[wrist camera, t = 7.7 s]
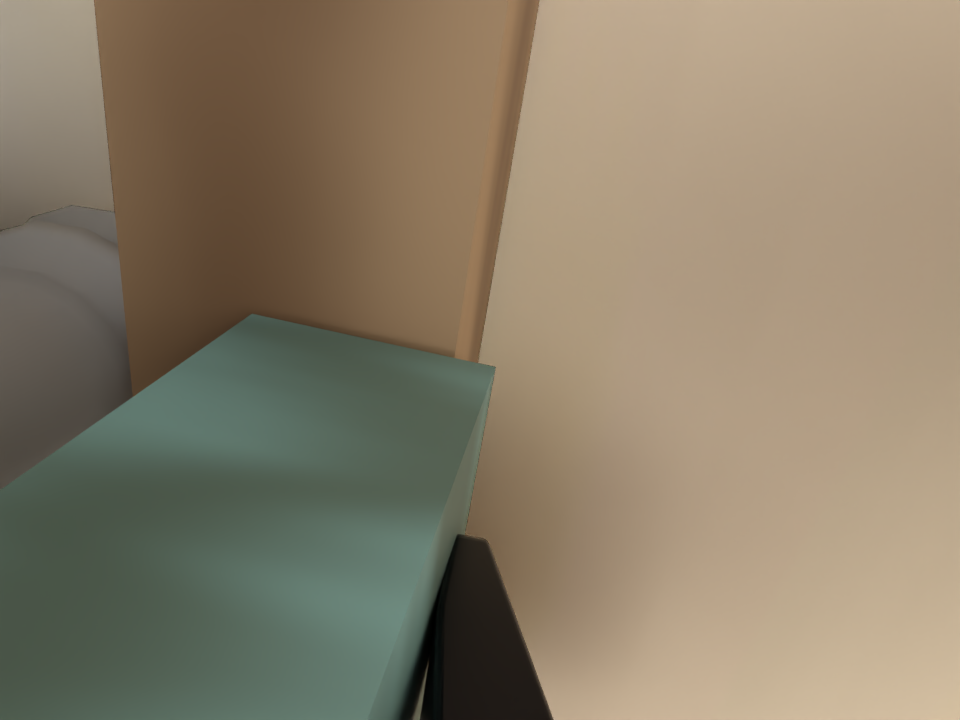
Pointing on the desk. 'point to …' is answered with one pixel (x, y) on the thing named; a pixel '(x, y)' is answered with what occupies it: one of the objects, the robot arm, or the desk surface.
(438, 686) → the robot arm
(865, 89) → the desk surface
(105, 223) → the rook chess piece
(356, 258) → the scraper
